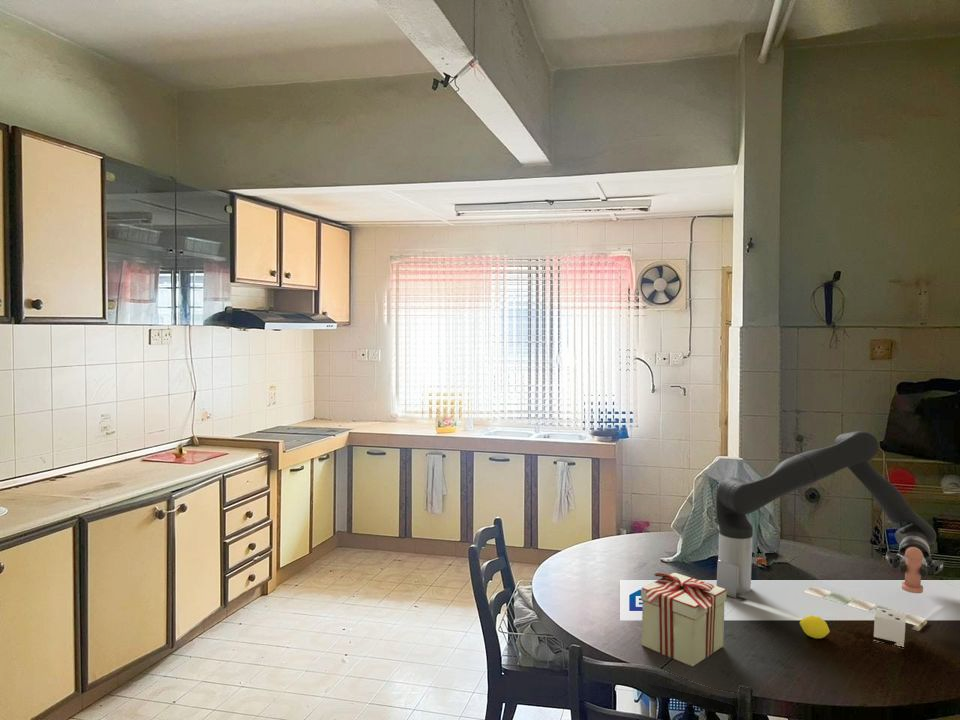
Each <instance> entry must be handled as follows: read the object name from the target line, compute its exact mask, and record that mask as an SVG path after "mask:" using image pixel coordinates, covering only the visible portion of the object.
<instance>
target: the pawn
mask: <svg viewBox="0 0 960 720" xmlns="http://www.w3.org/2000/svg"><path fill="white" fill-rule="evenodd" d="M905 556H906V570H905V574H904V581H903V582H902V583H901V589H902V591H905V592H908V593H911V594H922V593H923V592H924V587H923V585H922V584H921V583H922V581H921V580H922V577H921V566H922V558H923V553H922V551H921V550H920V549H918V548H916V547H909V548H908V549H907V550H906V552H905Z"/></svg>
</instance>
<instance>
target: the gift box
mask: <svg viewBox="0 0 960 720" xmlns="http://www.w3.org/2000/svg"><path fill="white" fill-rule="evenodd" d="M654 576H655V577H661V578H659V579H657V580H656V581H653V582H652V583H650V584H648V585H645V586H644V587H642V588H641V589H640V591H641V592H640V600H641V601H642V609H641V610H642V615H641V646H642V647H645V648H647V649H650V650H652V651H654V652H656V653H659V654H660V655H663V656H666V657H668V658H671V659H673V660H675V661H677V662H680V663H682V664H685V665H687V666H689V667H695V666H696V665H698V664H699V663H701V662H702V661H704V660H705V659H707V658H709V657H710V656H711V655H713V654H714V653H715V652H717V651H719V650H721V648H723V647H724V637H725V635H724V633H725V632H724V627H725V602H727V595H726V589H724V588H721V587H718V586H717V585H715V584H711V583H708V582H705V581H703V580H701V579H696V578H693V577H690V576H687V575H684V574H681V573H677V572H671V573H670V574H669V573H668V574H667V573H660V572H656V573H654Z"/></svg>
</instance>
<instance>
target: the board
mask: <svg viewBox="0 0 960 720" xmlns="http://www.w3.org/2000/svg"><path fill="white" fill-rule="evenodd" d="M803 593H805V594H808V595H811V596H815V597H818V598H821V599H823V598H824V599H825V600H828V601H832V602H835V603H839V604H842V605H846V606H849V607H852V608H855V609H859V610H862V611H865V612H869V613H872V614H875V613H876V609H877V608H881V609H886V610H891V611H896V612H901V611H900V610H896V609H893V608H889V607H886V606H883V605H878V604H876V603H872V602H868V601H865V600H861V599H859V598H855V597H852V596H848V595H845V594H841V593H837V592H832V591H830V590H826V589H823V588H820V587H816V586H810V587H809V588H807V589H805V590H804V591H803ZM901 613H906V623H905V624H909V625H913V626H912V627H911V630H914V631H917V632H919V631H921V629H923V627H924V626H926V625H927V624H928V619H927V618H925V617H921V616H917V615H914V614H911V613H907V612H904V611H902V612H901Z"/></svg>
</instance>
